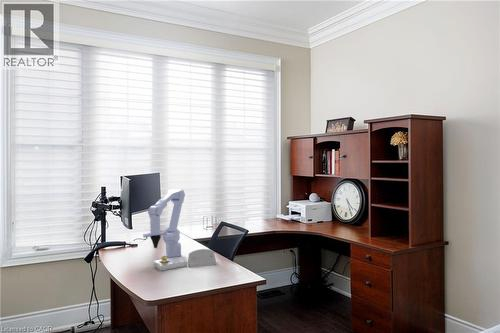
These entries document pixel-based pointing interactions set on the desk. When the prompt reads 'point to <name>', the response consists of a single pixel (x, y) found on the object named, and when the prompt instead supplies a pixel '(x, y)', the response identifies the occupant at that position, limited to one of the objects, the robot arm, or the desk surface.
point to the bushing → (163, 259)
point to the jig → (170, 263)
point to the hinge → (201, 258)
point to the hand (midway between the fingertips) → (155, 247)
